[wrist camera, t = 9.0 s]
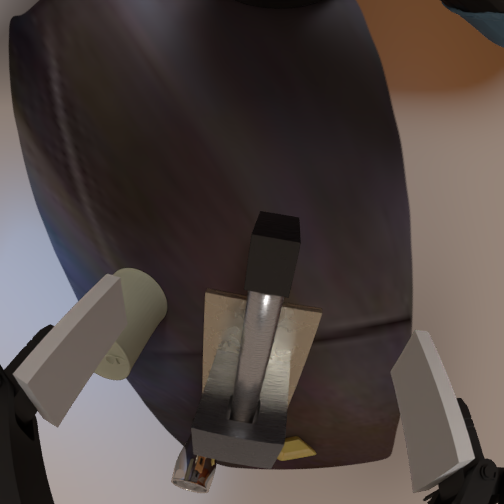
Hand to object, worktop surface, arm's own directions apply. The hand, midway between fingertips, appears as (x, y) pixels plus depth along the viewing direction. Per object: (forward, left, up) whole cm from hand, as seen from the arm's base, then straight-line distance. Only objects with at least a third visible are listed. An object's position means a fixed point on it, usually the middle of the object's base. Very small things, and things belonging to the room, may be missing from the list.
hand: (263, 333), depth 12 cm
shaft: (+12, 0, -12) cm, 17 cm away
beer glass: (+43, -6, -20) cm, 48 cm away
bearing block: (+24, 0, -20) cm, 31 cm away
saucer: (+47, +11, -20) cm, 53 cm away
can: (+15, -17, -20) cm, 30 cm away
